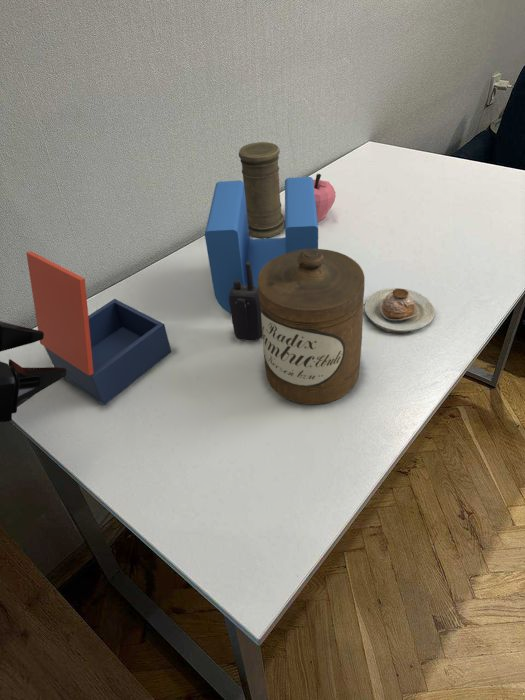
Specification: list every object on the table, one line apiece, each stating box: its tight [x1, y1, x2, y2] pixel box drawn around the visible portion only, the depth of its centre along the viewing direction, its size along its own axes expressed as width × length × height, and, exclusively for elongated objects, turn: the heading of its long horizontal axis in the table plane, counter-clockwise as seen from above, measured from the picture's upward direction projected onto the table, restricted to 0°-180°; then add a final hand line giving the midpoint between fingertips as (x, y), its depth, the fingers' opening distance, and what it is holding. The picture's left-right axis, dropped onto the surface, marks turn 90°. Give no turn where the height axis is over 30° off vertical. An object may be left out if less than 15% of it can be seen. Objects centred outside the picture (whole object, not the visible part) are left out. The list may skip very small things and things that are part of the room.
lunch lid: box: [26, 251, 94, 376], centre depth 73 cm, size 15×13×1 cm
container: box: [238, 141, 285, 239], centre depth 109 cm, size 9×9×18 cm
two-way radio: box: [229, 262, 263, 342], centre depth 83 cm, size 6×4×15 cm
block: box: [204, 176, 319, 315], centre depth 92 cm, size 18×18×18 cm
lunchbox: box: [44, 298, 172, 406], centre depth 83 cm, size 15×13×6 cm
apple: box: [313, 173, 337, 222], centre depth 114 cm, size 10×9×10 cm
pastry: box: [364, 287, 435, 334], centre depth 88 cm, size 12×12×5 cm
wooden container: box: [258, 248, 366, 405], centre depth 73 cm, size 15×15×22 cm
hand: (54, 352), depth 67 cm, fingers open, 9 cm apart
